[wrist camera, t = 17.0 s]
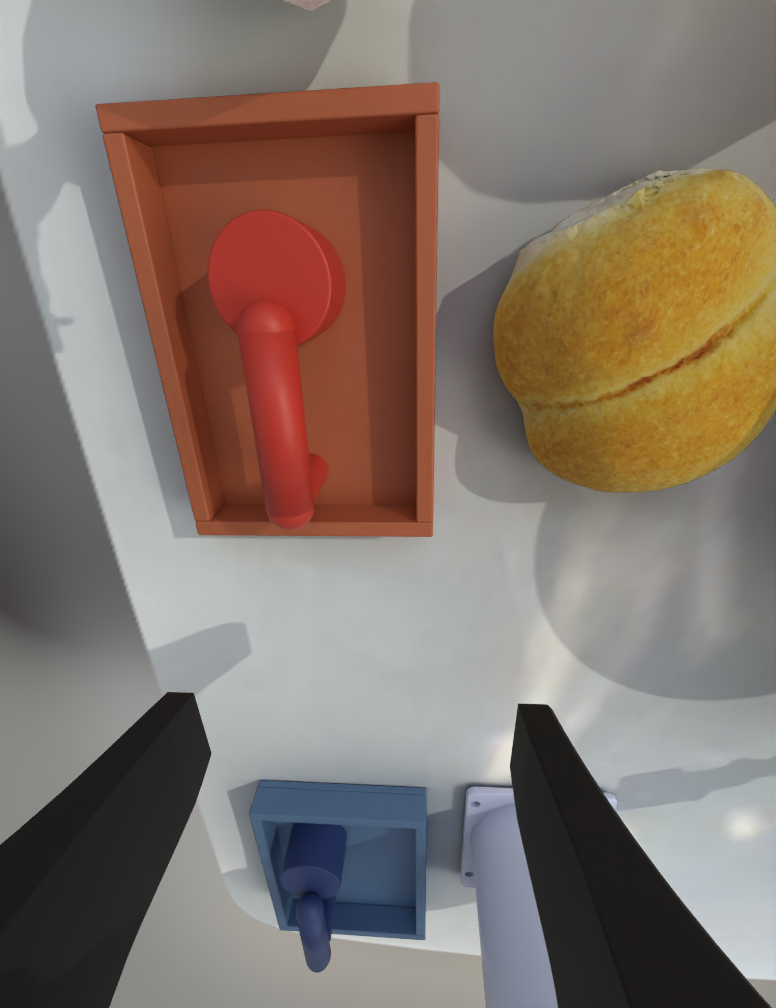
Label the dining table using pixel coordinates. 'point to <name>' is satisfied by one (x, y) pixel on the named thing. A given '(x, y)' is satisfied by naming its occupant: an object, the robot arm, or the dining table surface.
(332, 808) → the blue tray
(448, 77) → the dining table surface
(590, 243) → the bread roll
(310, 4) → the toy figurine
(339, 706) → the dining table surface
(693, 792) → the dining table surface
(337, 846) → the blue plastic mallet
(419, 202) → the orange-brown tray
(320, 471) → the red toy mallet
